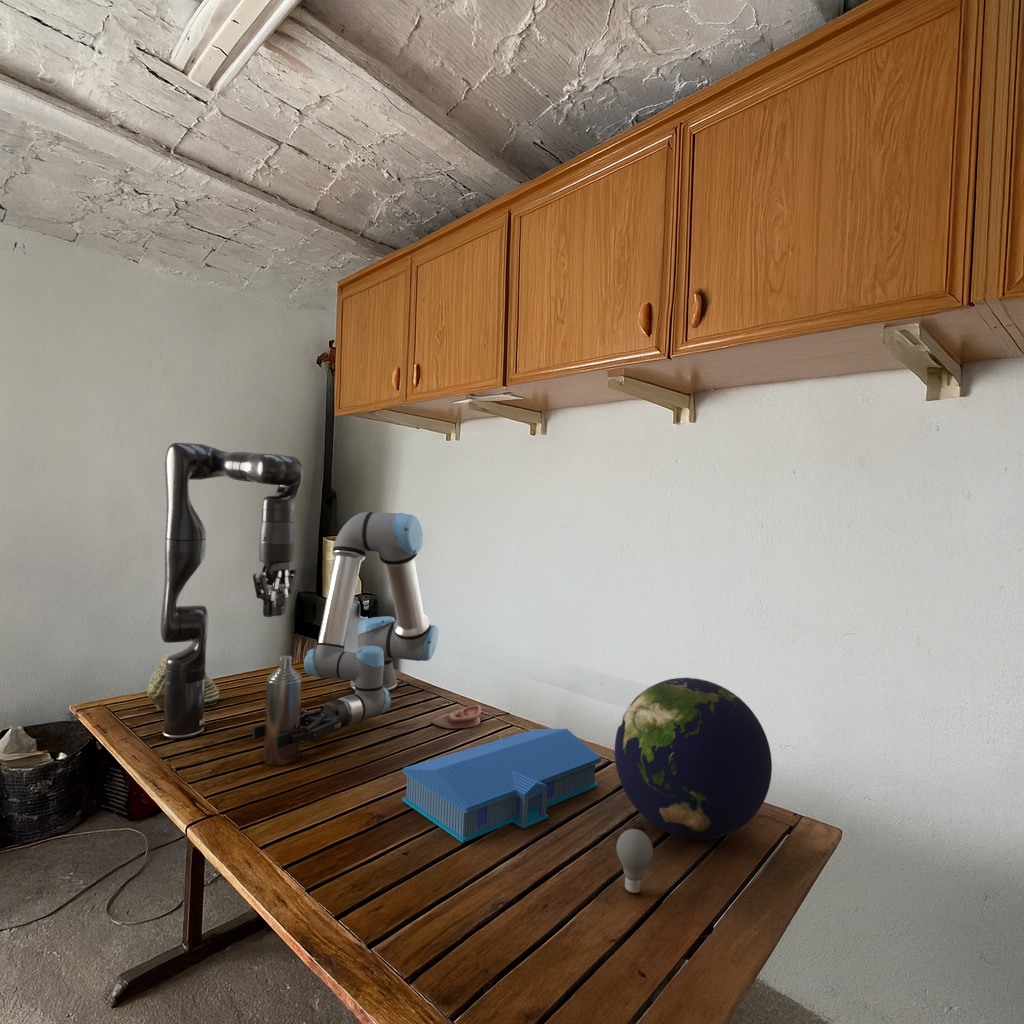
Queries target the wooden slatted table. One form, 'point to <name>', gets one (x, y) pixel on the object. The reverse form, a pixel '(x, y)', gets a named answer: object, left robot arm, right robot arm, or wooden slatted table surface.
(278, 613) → the cap
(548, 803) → the model building
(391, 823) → the wooden slatted table surface
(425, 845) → the wooden slatted table surface
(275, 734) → the bottle
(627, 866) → the light bulb
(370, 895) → the wooden slatted table surface
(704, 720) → the globe
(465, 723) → the anatomical model
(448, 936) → the wooden slatted table surface
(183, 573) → the left robot arm
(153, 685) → the fossil
